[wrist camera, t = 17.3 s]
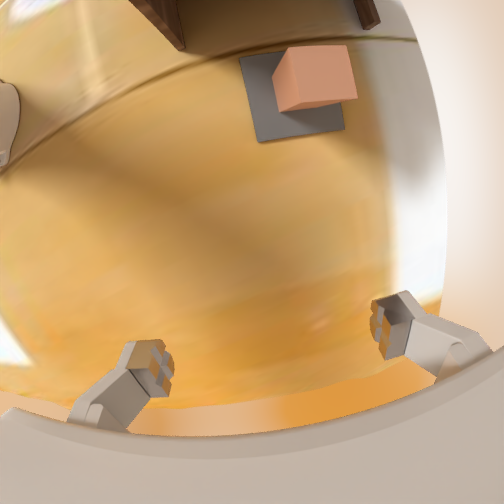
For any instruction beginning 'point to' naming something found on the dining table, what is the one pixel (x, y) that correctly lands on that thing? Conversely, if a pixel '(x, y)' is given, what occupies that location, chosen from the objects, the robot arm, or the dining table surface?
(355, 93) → the block
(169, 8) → the cubby
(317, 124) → the mat
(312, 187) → the dining table surface
